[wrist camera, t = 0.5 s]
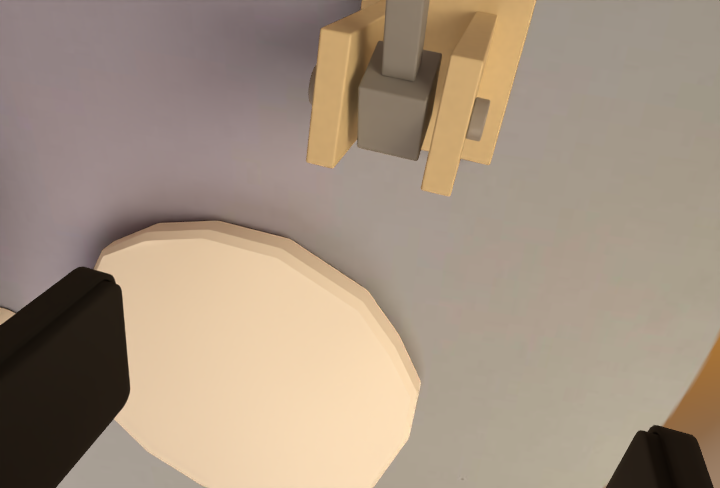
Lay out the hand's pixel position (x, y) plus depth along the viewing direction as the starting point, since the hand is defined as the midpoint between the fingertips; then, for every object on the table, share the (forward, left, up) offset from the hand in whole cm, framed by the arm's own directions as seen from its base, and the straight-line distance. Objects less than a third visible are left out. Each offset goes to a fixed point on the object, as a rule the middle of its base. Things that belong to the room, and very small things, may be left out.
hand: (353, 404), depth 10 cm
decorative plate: (+23, -11, -23) cm, 34 cm away
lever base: (-2, -2, -23) cm, 23 cm away
